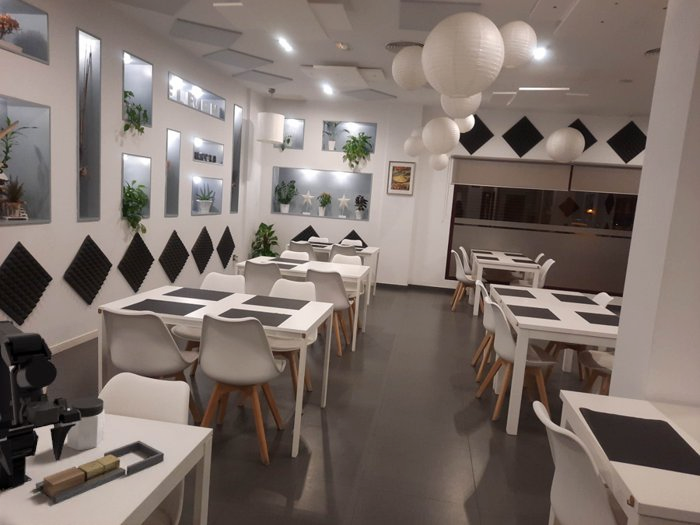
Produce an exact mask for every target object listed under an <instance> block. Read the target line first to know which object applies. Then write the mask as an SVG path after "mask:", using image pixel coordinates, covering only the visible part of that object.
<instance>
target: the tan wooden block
mask: <svg viewBox="0 0 700 525" xmlns="http://www.w3.org/2000/svg"><path fill="white" fill-rule="evenodd" d="M95 461H97V462H98V463H100V464H102V465H103V466H104V473H103V475H104V474H106V473H109V472H111V471H114V470H116V469H119V468H121V467H120V466H121V464H120V463H121V460H120V458H119V457H117V458H116V457H115V456H113V455H111V454H110V455H107V456H105V457H104V456H103V457H100V458H97V459H95Z"/></svg>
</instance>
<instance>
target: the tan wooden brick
mask: <svg viewBox="0 0 700 525" xmlns="http://www.w3.org/2000/svg"><path fill="white" fill-rule="evenodd" d="M84 477H85V473H84V472H83V471H81V470H79V469H78V467H76V466H72V467H70V468H66V469H64V470H60V471H59V472H56V473H53V474H50V475H47V476H45V477H43V480H42V481H43V491H44V492H45V493H46V494H48V495H49V496H50V497H52V495H54V494H56V493H59V492H61V491H64V490H66V489H69V488H71V487H74V486H76V485H79V484H81V483H84Z"/></svg>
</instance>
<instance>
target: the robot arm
mask: <svg viewBox="0 0 700 525" xmlns="http://www.w3.org/2000/svg"><path fill="white" fill-rule="evenodd" d="M52 354H53V352H52V351H51V349H50V347H49V345H48V343H47V342H46V341H45V339H44V338H43V337H42V336H41V334H40V333H37V332H24V331H23V330H21V329H20V328H19V327H17V326H16V325H14V322H13V320H9V319H7V320H0V491H6V490H9V489H13V488H16V487H18V486H21V485H24V484H25V483H27V482H30V481H32V480H33V479H32V478H31V477H30V476H28V475H27V474H26V470H27V468H26V467H27V465H26V464H27V458H29V457H34V456H36V452H37V449H38V448H37V446H38V441H39V435H38V434H37V432H36V429H39V428H43V427H49V426H53V427H52V428H50V429H49V431H50V436H51V437H50V438H51V443H52V444H51V446H52V451H53V457H54V460H55V461H56V462H58V461H60V460H61V456H62V452H63V448H64V446H65V440H66V439H67V433H68V432H69V430H70V429H71V427H73V426H75V425H76V423H75V424H73V423H72V422H76V421H80V420H81V413H80V411H79V410H78V409H73V410H70V409H69V408H68V407H69V404H68V399H67V398H66V397H64V396H62V397H56V398H54V400H53V401H49V397H48V395H47V394H48V393H44V392H45V391H44V388H46V387H49V386H50V385H52V384H53V382H54V381H55V379H56V378H57V375H58V370H57V367H56V366H55V364H54V363H53V362H51V360H52ZM10 367H12V368H11V369H10ZM68 409H69V410H68Z"/></svg>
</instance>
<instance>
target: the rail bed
mask: <svg viewBox="0 0 700 525" xmlns="http://www.w3.org/2000/svg"><path fill="white" fill-rule="evenodd" d="M126 472H127V469H125V468H124V467H120V468H119V469H116V470H114V471H111V472H109V473H106V474H104V475H101V476H99V477H96V478H94V479H91V480H89V481H86V482H84V483H81V484H79V485H76V486H74V487H71V488H69V489H66V490H64V491H61V492H59V493H56V494H54V495H52V497H50V496H49V495H48V494H46V493H45V492H44V491H43V481H44V480H41V481H39V482H36V483H35V489H36V490H37V491H38V492H40V493H41V494H43V496H45V497H46V498H48V499H49V500H51V502H53V503H54V504H58V503H61V502H63V501H66V500H68V499H70V498H72V497H75V496H77V495H80V494H82V493H85V492H87V491H89V490H93V489H95V488H98V487H99V486H101V485H104V484H106V483H109V482H111V481H113V480H116V479H119V478H121V477H123V476H125V475H126Z"/></svg>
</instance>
